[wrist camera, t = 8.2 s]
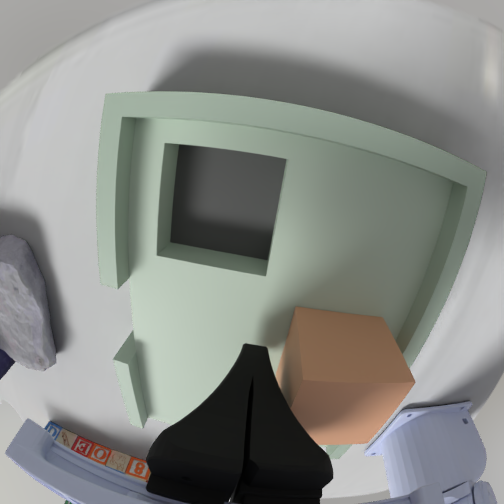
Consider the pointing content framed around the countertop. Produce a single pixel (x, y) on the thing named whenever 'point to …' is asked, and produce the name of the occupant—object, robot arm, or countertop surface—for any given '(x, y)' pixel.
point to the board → (265, 233)
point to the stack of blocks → (100, 454)
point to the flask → (5, 363)
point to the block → (341, 375)
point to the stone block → (24, 307)
